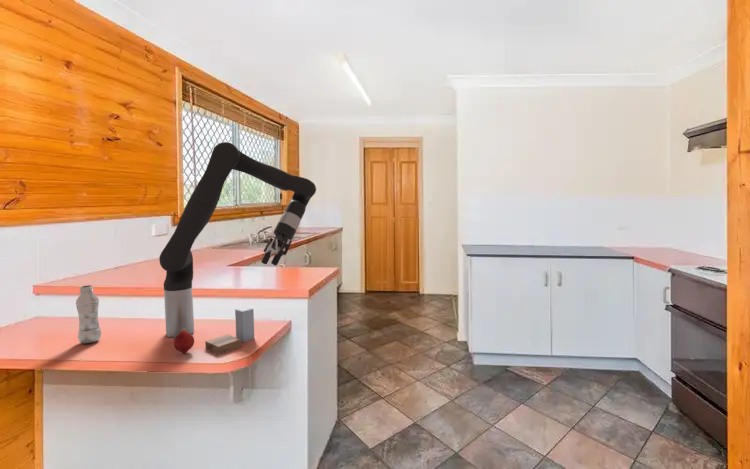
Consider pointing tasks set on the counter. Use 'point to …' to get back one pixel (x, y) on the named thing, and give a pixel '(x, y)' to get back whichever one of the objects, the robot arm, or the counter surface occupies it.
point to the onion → (183, 341)
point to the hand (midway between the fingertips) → (268, 264)
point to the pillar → (244, 323)
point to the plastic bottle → (88, 315)
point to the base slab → (223, 344)
